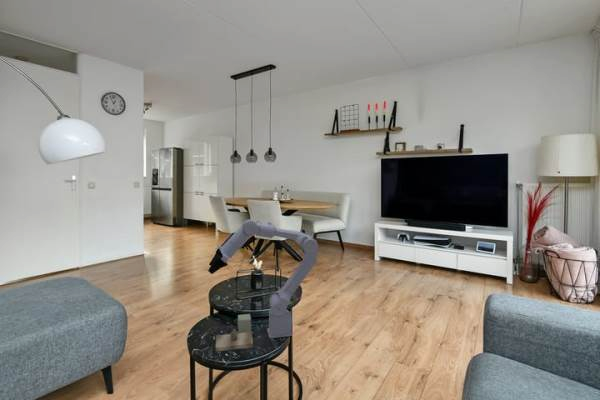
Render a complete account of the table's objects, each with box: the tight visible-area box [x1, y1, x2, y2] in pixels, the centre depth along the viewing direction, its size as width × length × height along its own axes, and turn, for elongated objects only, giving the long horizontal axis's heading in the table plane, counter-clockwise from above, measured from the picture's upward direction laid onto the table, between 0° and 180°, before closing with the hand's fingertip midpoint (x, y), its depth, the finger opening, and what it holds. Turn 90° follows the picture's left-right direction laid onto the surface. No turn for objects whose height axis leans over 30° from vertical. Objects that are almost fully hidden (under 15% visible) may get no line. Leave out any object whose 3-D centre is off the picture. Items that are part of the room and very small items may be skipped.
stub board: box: [215, 330, 254, 352], centre depth 122 cm, size 14×9×4 cm, turn 104°
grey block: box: [237, 313, 252, 333], centre depth 133 cm, size 5×5×6 cm
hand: (210, 269), depth 123 cm, fingers open, 7 cm apart
